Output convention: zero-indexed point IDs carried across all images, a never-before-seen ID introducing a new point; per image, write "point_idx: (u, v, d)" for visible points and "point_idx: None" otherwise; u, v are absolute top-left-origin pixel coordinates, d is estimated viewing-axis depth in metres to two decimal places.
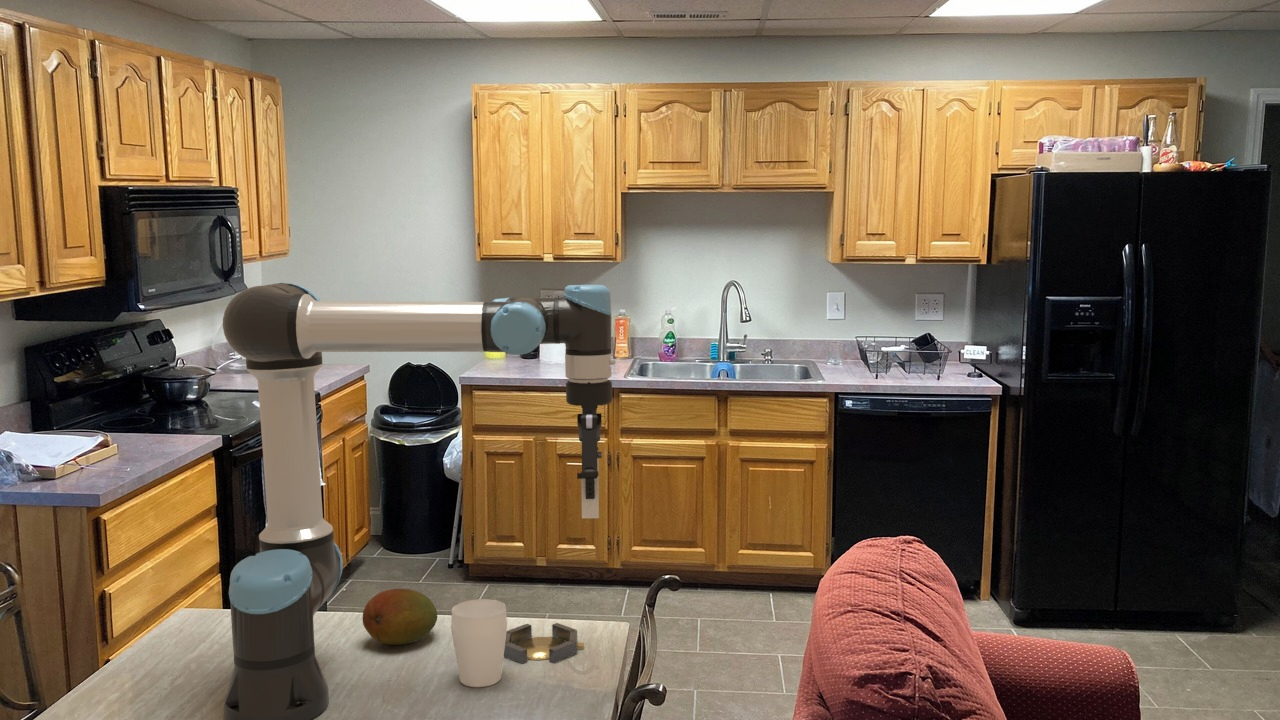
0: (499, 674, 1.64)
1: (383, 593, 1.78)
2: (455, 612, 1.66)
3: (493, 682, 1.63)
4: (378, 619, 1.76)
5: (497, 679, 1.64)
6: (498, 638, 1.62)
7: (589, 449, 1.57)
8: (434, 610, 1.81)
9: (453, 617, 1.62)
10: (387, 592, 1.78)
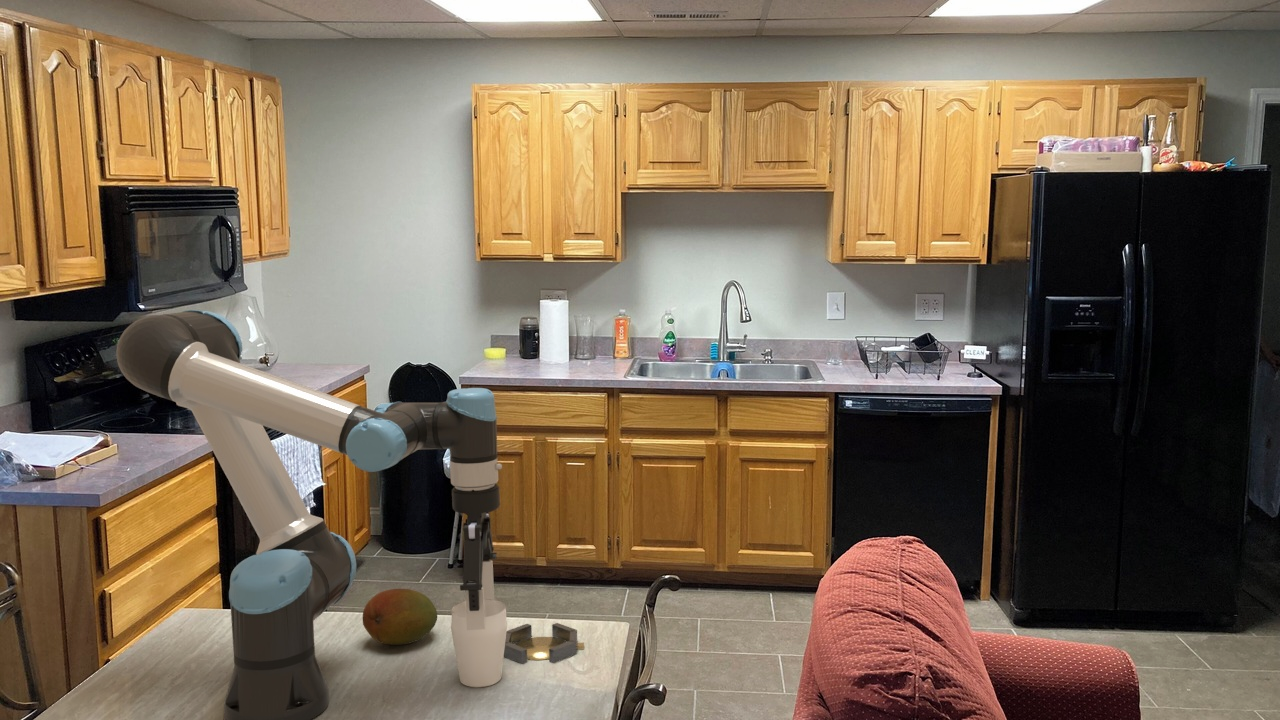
0: (499, 674, 1.64)
1: (383, 593, 1.78)
2: (455, 612, 1.66)
3: (493, 682, 1.63)
4: (378, 619, 1.76)
5: (497, 679, 1.64)
6: (497, 638, 1.62)
7: (471, 561, 1.54)
8: (434, 610, 1.81)
9: (453, 617, 1.62)
10: (387, 592, 1.78)
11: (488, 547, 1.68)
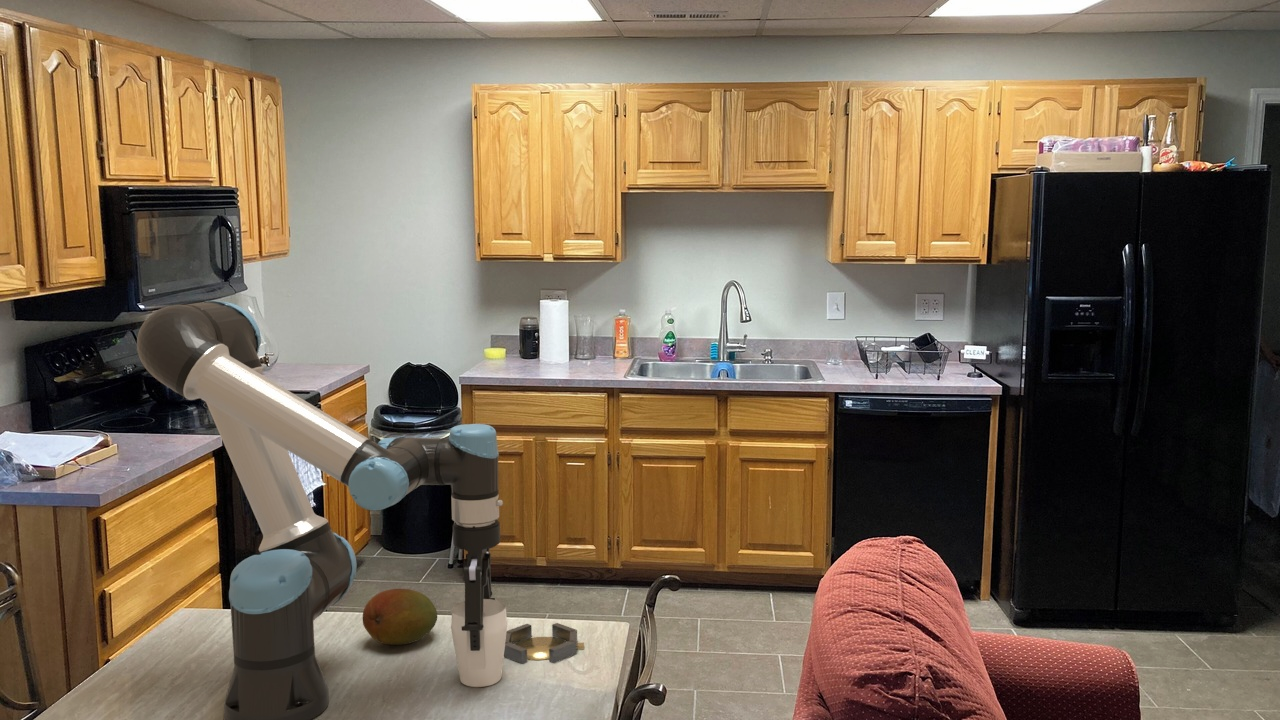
0: (499, 674, 1.64)
1: (383, 593, 1.78)
2: (455, 612, 1.66)
3: (493, 682, 1.63)
4: (378, 619, 1.76)
5: (497, 679, 1.64)
6: (498, 637, 1.62)
7: (472, 603, 1.56)
8: (434, 610, 1.81)
9: (453, 617, 1.62)
10: (387, 592, 1.78)
11: (487, 588, 1.67)
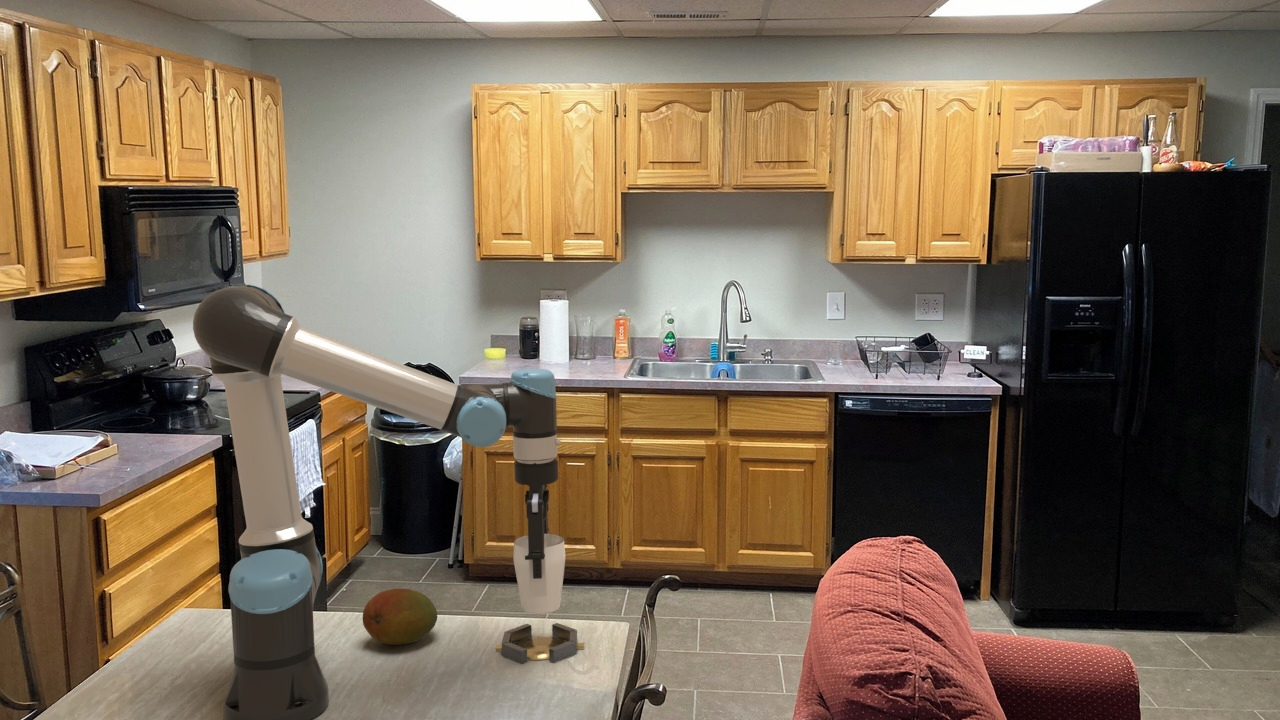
0: (559, 602, 1.75)
1: (383, 593, 1.78)
2: (516, 545, 1.77)
3: (553, 609, 1.74)
4: (378, 619, 1.76)
5: (557, 607, 1.75)
6: (557, 567, 1.73)
7: (535, 533, 1.68)
8: (434, 610, 1.81)
9: (516, 549, 1.73)
10: (387, 592, 1.78)
11: (545, 524, 1.79)
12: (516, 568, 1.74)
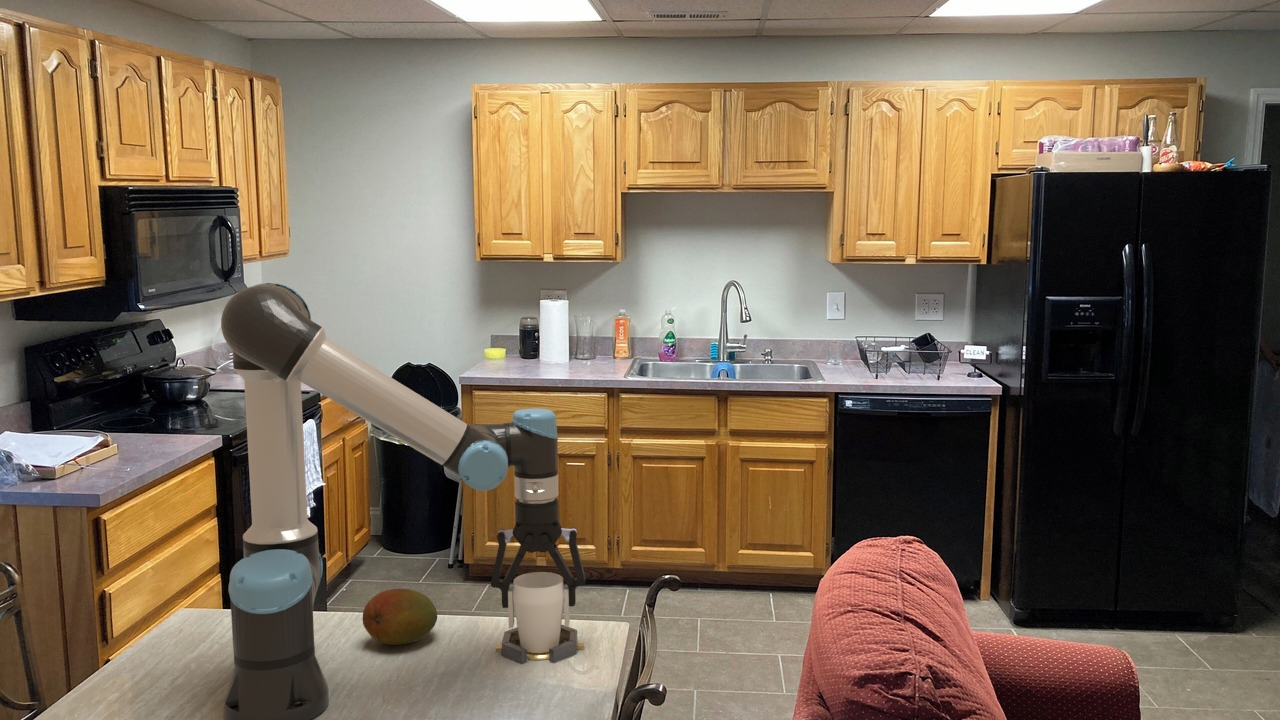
0: (531, 646, 1.74)
1: (383, 593, 1.78)
2: (549, 579, 1.80)
3: None
4: (378, 619, 1.76)
5: (528, 649, 1.74)
6: (520, 609, 1.73)
7: None
8: (434, 610, 1.81)
9: (527, 577, 1.80)
10: (387, 592, 1.78)
11: (559, 570, 1.75)
12: None
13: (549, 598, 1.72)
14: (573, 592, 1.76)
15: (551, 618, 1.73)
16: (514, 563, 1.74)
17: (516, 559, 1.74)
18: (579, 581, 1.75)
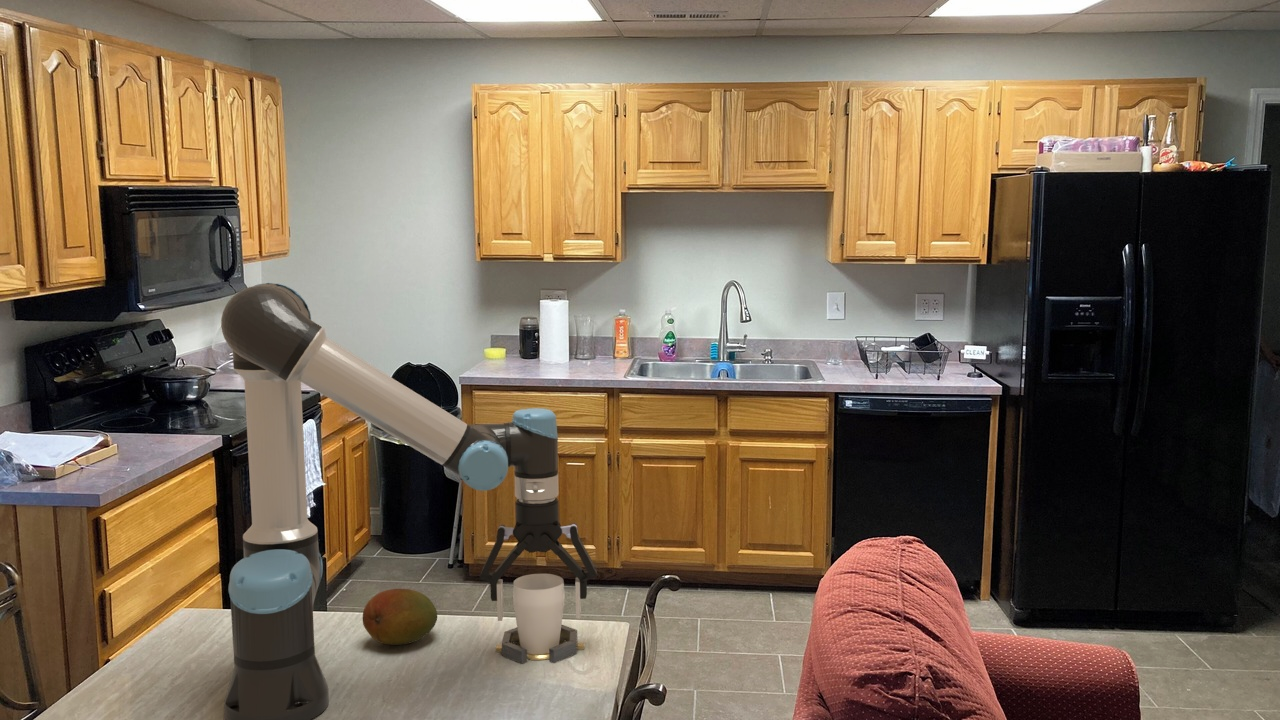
0: (531, 648, 1.74)
1: (383, 593, 1.78)
2: (549, 580, 1.80)
3: None
4: (378, 619, 1.76)
5: (528, 651, 1.74)
6: (520, 610, 1.73)
7: None
8: (434, 610, 1.81)
9: (527, 578, 1.80)
10: (387, 592, 1.78)
11: (567, 566, 1.75)
12: None
13: (549, 600, 1.72)
14: (584, 584, 1.76)
15: (551, 620, 1.73)
16: (508, 559, 1.74)
17: (511, 555, 1.74)
18: (590, 574, 1.75)
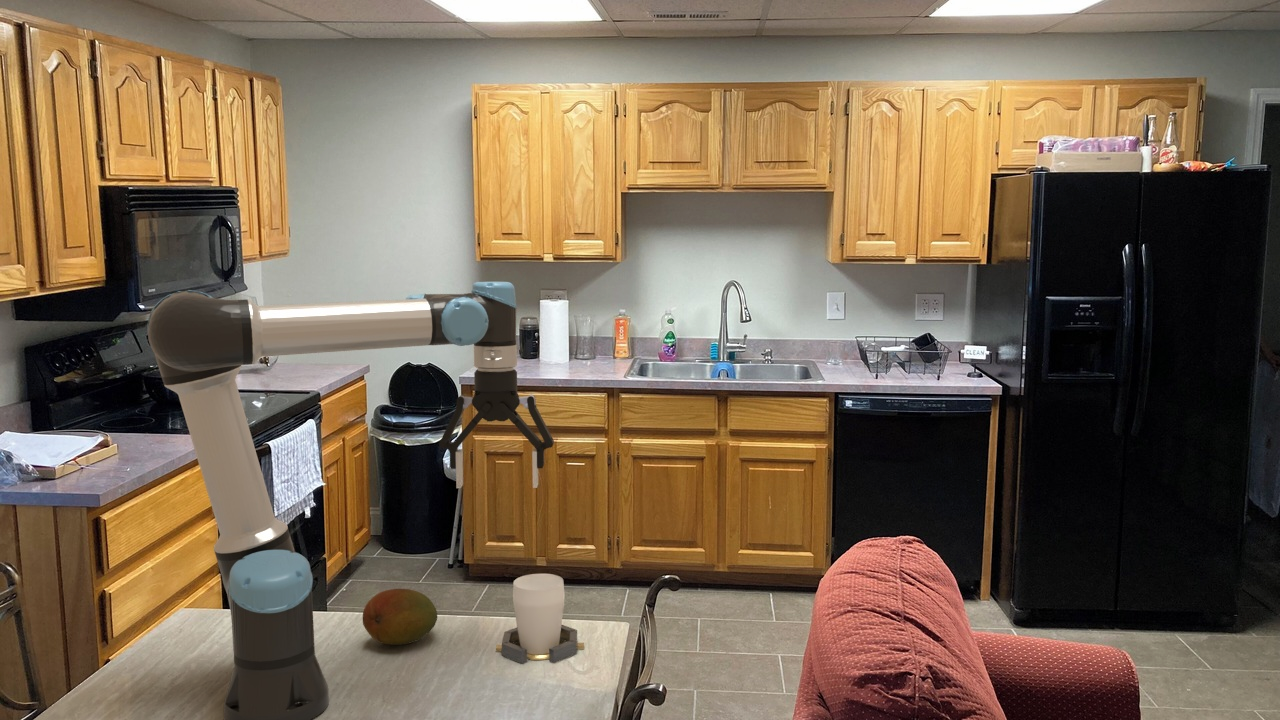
0: (531, 648, 1.74)
1: (383, 593, 1.78)
2: (549, 580, 1.80)
3: None
4: (378, 619, 1.76)
5: (528, 651, 1.74)
6: (520, 610, 1.73)
7: None
8: (434, 610, 1.81)
9: (527, 578, 1.80)
10: (387, 592, 1.78)
11: (524, 435, 1.79)
12: None
13: (549, 600, 1.72)
14: (541, 454, 1.80)
15: (551, 620, 1.73)
16: (467, 427, 1.79)
17: (470, 424, 1.79)
18: (547, 444, 1.79)
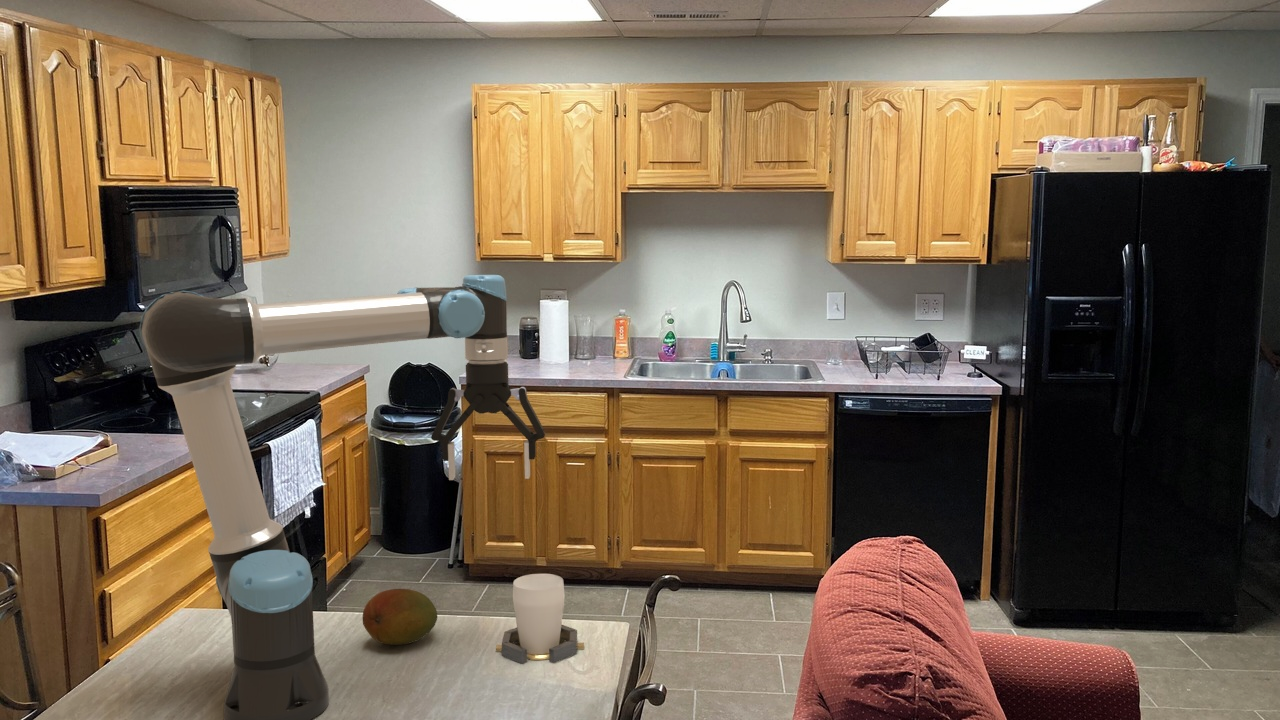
0: (531, 648, 1.74)
1: (383, 593, 1.78)
2: (549, 580, 1.80)
3: None
4: (378, 619, 1.76)
5: (528, 651, 1.74)
6: (520, 610, 1.73)
7: None
8: (434, 610, 1.81)
9: (527, 578, 1.80)
10: (387, 592, 1.78)
11: None
12: None
13: (549, 600, 1.72)
14: (533, 445, 1.82)
15: (551, 620, 1.73)
16: (459, 419, 1.80)
17: (462, 416, 1.80)
18: (538, 435, 1.81)
